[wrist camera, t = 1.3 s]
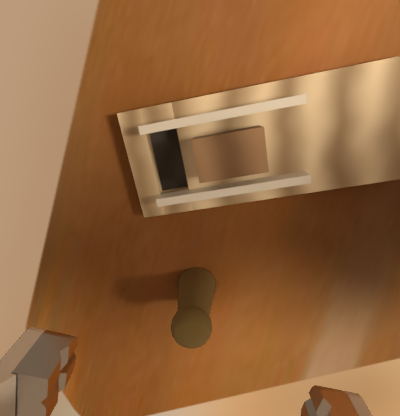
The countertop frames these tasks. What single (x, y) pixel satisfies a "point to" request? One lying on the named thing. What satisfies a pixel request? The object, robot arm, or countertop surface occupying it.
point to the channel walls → (233, 187)
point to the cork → (194, 308)
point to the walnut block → (230, 154)
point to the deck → (278, 135)
